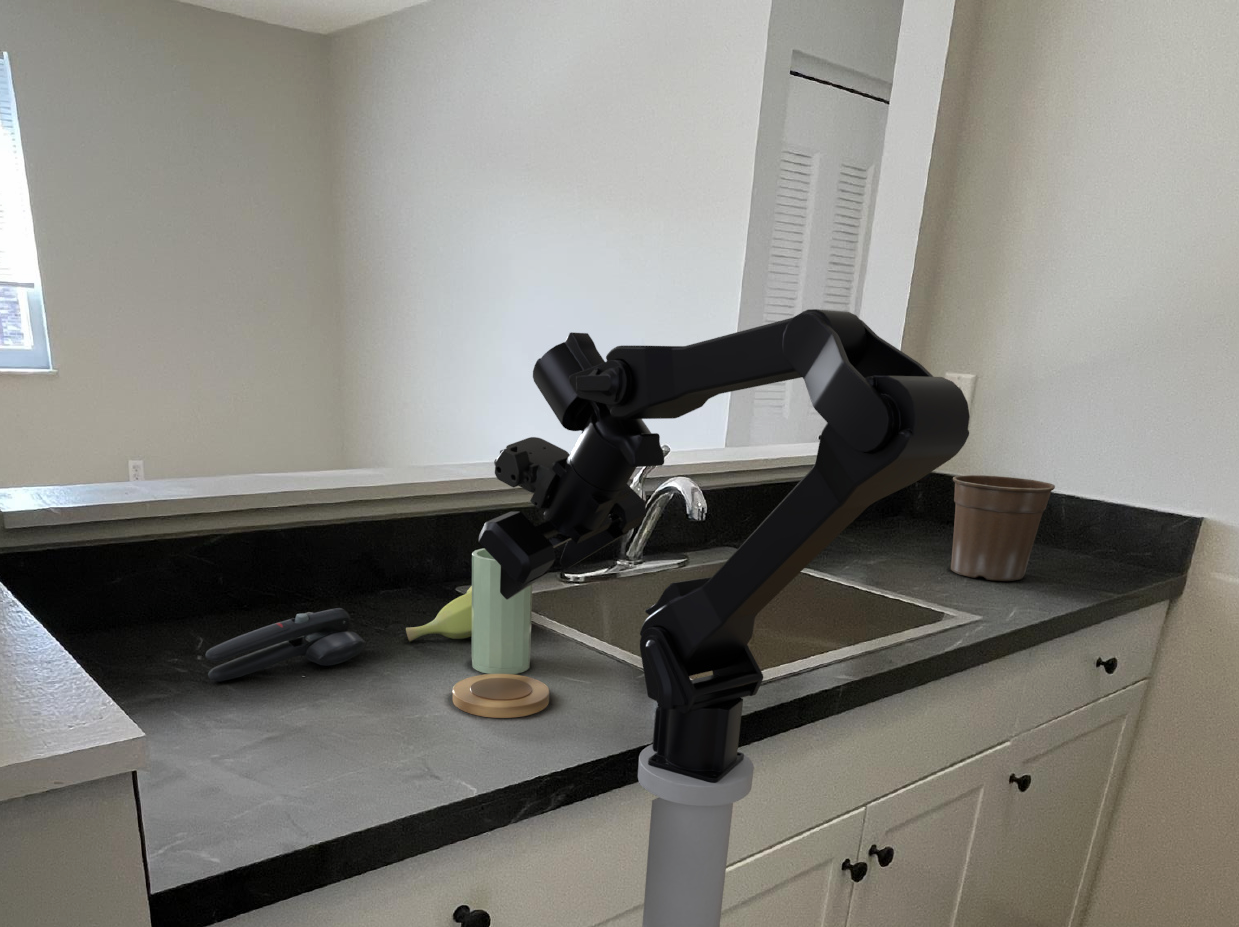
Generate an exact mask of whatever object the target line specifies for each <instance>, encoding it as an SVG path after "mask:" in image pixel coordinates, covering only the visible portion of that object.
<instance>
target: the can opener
mask: <svg viewBox="0 0 1239 927" xmlns="http://www.w3.org/2000/svg"><path fill="white" fill-rule="evenodd" d="M351 620H352V619H351V616H350V614H349V613H348V611H347V610H346V609H344V608H341V607H336V608H330V609H327V610H322V611H317V612H313V611H312V612H310V611H308V612H305V613H297V614H296V615H295V618H294V617H293V618H289V619H286V620H283V621H278V622H276V623H272V624H269V625H266V626H263V627H260V628H257V629H255V630H252V631H249V632H246V633H244V634H241V635H238V636H236V637H233V638H231V639H229V640H226V641H224V642H221V643H219V644H217V645H214V646H212V647H211V648H209V649H207V651H206V652H205V658H206V659H207V660H208V661H210V662H214V663H215V662H216V663H218V662H219V663H220V662H222V661H225V660H228V659H232V658H234V657H237V656H239V657H237V658H235V659H232V660H230V661H226V662H224V663H222V664H219V665H217V666H214V667H213V668H211V669H210V670H209V672H208V674H207V676H208V678H209V679H210V680H212V681H215V682H224V681H231V680H234V679H237V678H242V677H245V676H248V675H251V674H254V673H256V672H258V671H261V670H264V669H267V668H268V667H271V666H273V665H276V664H277V663H280V662H283V661H286V660H288V659H290V658H291V659H292V658H294V657H297V656H305V659H306V660H308V661H309V662H312V663H315V664H317V665H320V666H333V665H338V664H341V663H344V662H346V661H347V662H348V661H350V660H351V659H353V658H355V657H357V656H358V655H360V654H361V653H362V652H363V651H364V650H365V648H366V646H367V643H366V641H365V640H364V639H363V638H362V637H361V636H360V635H359V634H358V633H357V632H354V631H350V628H351V623H352V621H351ZM250 652H251V653H250ZM247 653H248V654H247ZM243 654H245V655H243ZM240 655H242V656H240Z"/></svg>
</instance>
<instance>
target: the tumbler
mask: <svg viewBox="0 0 1239 927" xmlns="http://www.w3.org/2000/svg"><path fill="white" fill-rule="evenodd" d="M500 574H501V565H500V564H499V563H498V562H497V561H496V560H495V559H494V558H493V557H492V556H491V555H490V554H489V553H488V552H487V551H486V549H485V548H484V547H483V548H479V549H475V550H474V551H472V553H471V586H472V636H471V667H472V668H473V669H474V670H476V671H477V672H480V673H483V674H513V675H519V674H521V673H524V672H526V671H528V670H529V669H530V667H531V656H532V655H531V653H532V652H531V650H532V648H531V647H532V613H533V607H532V606H533V584H531V585H530V586H528V587H527V588H525V589H524V590H522V591H521V592H519V593H518V594H516V595H514V596H513V597H511V598H510V599H508V600H507V599H505V598H504V597H503V595H502V594H501V593H500Z"/></svg>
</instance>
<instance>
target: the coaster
mask: <svg viewBox="0 0 1239 927" xmlns="http://www.w3.org/2000/svg"><path fill="white" fill-rule="evenodd" d="M452 703H453V705H454V706H455V707H456V708H457V709H459V710H461V711H462V712H465V713H467V714H471V715H473V716H477V717H485V718H492V719H512V718H513V719H514V718H522V717H526V716H531V715H535V714H538V713H539V712H541V711H543V710H545V709H546V708H547V707H548V706H549V703H550V688H549V687H548V685H546V684H545V683H544V682H542V681H540V680H538V679H537V678H533V677H530V676H525V675H520V674H487V673H484V674H479V675H478V674H477V675H474V676H473V675H472V676H469V677H466V678H463V679H461V680H459V681H457V682H456V683H455V684H454V686H453V687H452Z"/></svg>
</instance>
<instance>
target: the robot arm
mask: <svg viewBox="0 0 1239 927" xmlns="http://www.w3.org/2000/svg"><path fill="white" fill-rule="evenodd" d="M605 359H606V361H605V360H604V358H603V356H602V355H601V353H600V352H599V351H598V349H597V347H596V345H595V341H594V340H593V339H592V337H591V336H590V334H589V333H588V332H569V333H568V335H567V337H566V339H565V341H564V342H561V343H559V344H556V345H555V346H553V347H552V348H550V349H548V350H547V351H546V352H545V353H544V354H543V355H542V356H541V357H540V358H538V359H537V360H536V362H535V364H534V365H533V370H532V380H533V382H534V384H535V385H536V387H537V389H538V390H539V391H540V394H541V395H542V396H543V398H544V399H545V401H546V403H547V404H548V406H549V407H550V409H551V410H552V412H553V414H554V416H555V417H556V419H557V420H558V422H559V423H560V425H561V426H562V427H563V428H564V429H565V430H567V431H571V432H580V431H581V433H580V435H579V436H578V438H577V440H576V442H575V444H574V446H573V447H572V450H571V452H570V453H569V452H568V451H567V450H566V449H564V448H561V447H559V446H557V445H555V444H553V443H551V442H550V441H548V440H545V439H544V438H541V437H538V436H537V437H536V436H531V437H527V438H523V439H521V440H519V441H516V442H513V443H510V444H508V445H506V446H505V448H503V449H501V450H499V456H498V457H497V458H495V460H494V463H493V464H494V475H495V477H496V480H498V481H500V482H502V483H503V484H506V485H508V486H509V487H511V488H512V489H513V488H516V487H520V488H521V489H523V490H525V491H527V492H529V493H532V496H531V498H530V500H529V501H530V502H531V503H532V504H533V506H534V507H535V508H536V509H537V510H541V509H542V510H543V512H544V513H543V516H544V519H545V520H546V521H545V522H541V523H540V524H538V525H534V523H532V522H531V520H530V519H529V518H527V516H526V515H524V513H523V512H522V511H509V512H507V513H503V514H502V515H499V516H497V517H494V518H492V519H490V520H487V521H486V522H485V523H484V525H483V526H482V529H481V531H480V533H479V535H478V543H479V545H480V546H481V547H482V548H483V549H484V548H485V549H486V551H487V552H488V553H489V554H490V555H491V556H492V557H493V558H494V559H495V560H496V561H497V562H498V563H499V564H500V565H501V574H500V593H501V594H502V595H503V597H504V598H505V599H507V600H508V599H510V598H511V597H513V596H514V595H516V594H518V593H519V592H521V591H522V590H524V589H525V588H527V587H528V586H530V585H531V584H532V585H533V584H534V583H536V582H538V581H540V580H541V579H542V578H544V577H545V576H546V575H548V570H549V569H550V568H551V567H552V566H553V565H554V562H555V561H556V554H555V548H557V547H559V546H561V545H563V544H565V543H566V544H565V546H564V549H563V552H562V554H561V557H560V560H559V564H560V565H561V566H562V567H563V568H564V569H565V570H568V569H570V568H572V567H573V566H575V565H577V564H578V563H580V562H581V561H583V560H585V559H586V558H588V557H590V556H591V555H593V554H595V553H597V552H598V551H600V550H602V549H603V548H605V547H607V546H608V545H610V544H612V543H614V542H616V541H617V540H618V539H620V538H621V537H623V536H625V535H627V534H628V533H629V532H630V531H631V530H633V529H636V528H637V527H639V526H640V524H641V523H642V521H643V520H644V518H645V517H646V515H647V508H646V504H645V503H646V502H645V500H644V499H643V498H642V497H641V496H640V495H639V494H638V493H637V492H636V491H635V490H634V489H633V488H632V487H631V486H630V485H629V484H628V483H629V481H630V479H631V478H632V476H633V474H634V472H635V471H636V470H637V468H644V467H661V466H664V464H665V454H664V450H663V448H662V446H661V441H660V439H661V437H660V434H659V433H657V432H651V430H650V429H649V427H648V426H647V424H646V423H645V422H644V420H652V419H653V420H664V419H665V420H666V419H671V420H672V419H678V418H681V417H683V416H685V415H687V414H690V413H691V412H694V411H696V410H698V409H700V408H702V407H704V405H705V404H706V403H707V402H708V401H709V400H710V399H712V398H714V397H717V396H718V395H721V394H726V393H727V394H728V393H732V392H736V391H741V390H746V389H751V388H757V387H761V386H767V385H771V384H775V383H781V382H785V381H791V380H796V379H801V378H802V379H803V380H804V383H805V387H806V390H807V394H808V396H809V399H810V402H811V405H812V407H813V409H814V410H815V411H816V412H817V413H818V415H820V416H821V418H822V419H823V420H824V421H825V423H826V424H825V426H824V427H823V429H822V431H821V434H820V438H819V443H818V447H817V448H818V449H817V453H816V458H815V462H814V464H813V466H812V467H811V469H810V470H809V471H808V472H807V473H806V474H805V475H804V476H803V477H802V479H801V480H800V481H799V482H798V483H796V485H795V486H794V487H793V488H792V490H790V492H789V493H787V495H786V496H785V497H784V498H783V499H782V501H780V502H779V504H778V505H777V506H776V507H775V508H774V509H773V510H772V511H771V512H770V513H769V515H767V517H765V519H764V520H763V521H762V522H761V523H760V524H759V525H758V526H757V528H756V529H755V530H754V531H752V533H751V534H750V535H749V536H748V537H747V538H746V539H745V540H744V541H743V542H742V544H740V546H739V547H738V548H737V549H736V550H735V551H734V553H732V555H731V556H730V557H729V558H728V559H727V560H726V561H724V563H723V564H722V566H720V567H719V569H718V570H717V571H716V572H715V573H714V574H713V575H712V576H707V577H701V578H693V579H689V580H688V579H687V580H681V581H675V582H672V583H670V584H668V585H667V587H666V588H665V589H664V591H663V592H662V593H661V595H660V597H659V598H658V600H657V602H655V603H654V605H652V606H650V607H647V608H645V609H644V610H645V611H644V612H645V613H646V614H647V615H648V617H647V618H646V619H645V620H644V622H643V624H642V626H641V629H640V630H639V635H640V639H639V651H640V657H641V662H642V669H643V674H644V676H643V677H644V682H645V687H646V693H647V697H648V699H650V700H653V701H656V703H657V706H656V707H655V710H654V720H653V721H654V722H653V723H654V724H653V734H652V735H653V736H652V744H653V747H652V748H653V751H654V752H657V753H655V754H654V755H653V756H651V757H650V758H649V759H648V765H650V766H653V767H656V768H660V769H664V770H667V771H671V772H674V773H678V774H681V775H685V776H688V777H692V778H695V779H699V780H702V781H706V782H709V783H717V782H718V781H720V780H721V779H722V778H723V777H724V776H725V775H726V774H728V773H729V772H730V771H731V770H732V769H733V768H734V767H736V766H737V765H738V764H739V763H740V762H741V761H742V760H743V759H744V754H745V753H744V754H743V752H742V751H740V752H737V751H738V750H739V742H740V741H739V740H740V732H741V723H742V715H743V714H742V713H743V703H744V698H745V697H753V696H756V695H757V694H758V691H759V689H760V688H761V685H762V683H763V680H764V674H763V671H762V670H761V668H760V666H759V664H758V662H757V660H756V658H755V657H754V655H753V652H752V651H751V649H750V647H749V646H748V644H749V642H750V641H751V640H752V638H753V634H754V628H755V621H756V617H757V616H758V614H759V613H760V612H761V611H762V610H763V609H764V608H765V607H766V606H767V605H768V604H769V603H770V602H772V601H773V600H774V598H775V597H777V596H778V594H780V592H782V591H783V590H784V589H785V588H786V587H787V586H788V585H789V584H791V582H792V581H793V580H794V579H795V578H796V577H797V576H798V575H799V574H800V573H802V571H804V569H805V568H806V567H808V566H809V564H811V563H812V562H813V561H814V560H815V559H816V558H817V557H818V556H819V555H820V554H821V553H822V552H823V551H824V550H825V549H827V547H828V546H829V545H830V544H831V543H832V542H833V541H834V540H835V539H836V538H838V536H839V535H840V534H842V533H843V531H844V530H845V529H847V527H848V526H850V525H851V524H852V523H853V522H854V521H855V520H856V519H857V518H858V517H859V516H860V515H861V514H862V513H863V512H864V511H865V510H866V509H867V508H868V507H869V506H871V505H873V504H874V503H876V502H878V501H880V500H882V499H884V498H886V497H889V496H890V495H893V494H894V493H897V492H898V491H900V490H903V489H904V488H907V487H908V486H911V485H912V484H915V483H917V482H918V481H920V480H921V479H923V478H924V477H926V476H928V475H929V474H930V473H932V472H934V471H935V470H937V469H938V468H940V467H941V466H943V465H944V464H945V463H947V462H949V461H950V460H951V459H953V458H954V457H956V456H957V455H958V453H960V451H961V450H962V449H963V447H964V446H965V445H966V443H967V440H968V439H969V437H970V430H969V424H970V418H971V417H970V409H969V403H968V400H967V398H966V396H965V395H964V393H963V390H962V389H961V388H960V386H958V385H957V384H956V383H955V382H954V381H953V380H951V379H947V378H945V377H943V376H934V375H933V374H932V373H931V372H930V371H928V369H927V368H926V367H925V366H923V364H921V363H920V362H919V361H918V360H916V359H914V358H913V357H911V356H910V355H908V354H906V353H904V352H903V351H902V350H900V349H899V348H897V347H896V346H894V345H893V344H891V343H890V342H888V341H887V340H885V339H883V338H882V337H880V336H879V335H878V334H877V333H876V332H875V331H874V330H873V329H872V328H871V327H870V326H869V325H868V324H867V323H866V322H865V321H863V320H862V319H861V318H859V316H858V315H857V314H854V313H852V312H850V311H841V310H829V309H818V308H816V309H815V308H812V309H806V310H804V311H802V312H800V313H798V314H797V315H795V316H793V317H790V318H786V319H782V320H778V321H774V322H771V323H767V324H766V323H765V324H763V325H759V326H756V327H752V328H748V329H745V330H740V331H736V332H733V333H728V334H724V335H721V336H717V337H714V338H710V339H706V340H702V341H699V342H695V343H690V344H687V345H617V346H615V347H613V348H612V349H611V350H610V351H609V352H608V353H606V356H605ZM709 672H712V674H709V675H705V676H701V677H697V678H694V679H693V678H692V679H691V676H696V675H701V674H704V673H709ZM741 752H742V753H741Z"/></svg>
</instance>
